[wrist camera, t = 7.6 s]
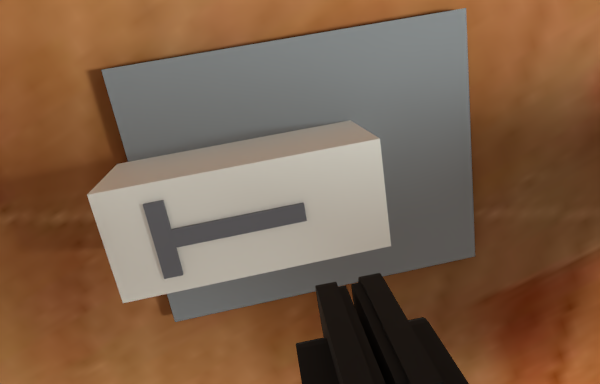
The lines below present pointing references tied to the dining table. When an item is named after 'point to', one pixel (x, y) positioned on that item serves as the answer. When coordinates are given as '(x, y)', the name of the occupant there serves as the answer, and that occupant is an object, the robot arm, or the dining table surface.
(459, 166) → the mat
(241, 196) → the letter block
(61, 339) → the dining table surface
